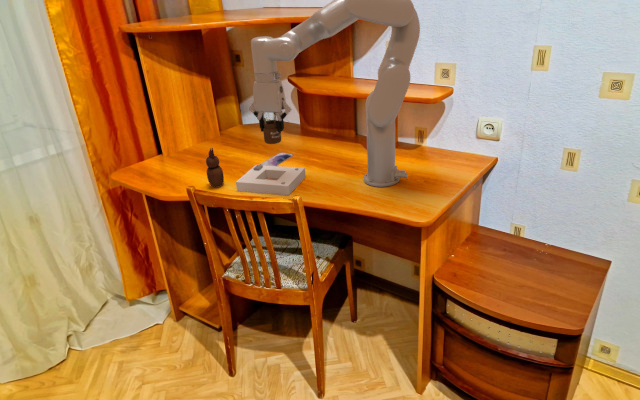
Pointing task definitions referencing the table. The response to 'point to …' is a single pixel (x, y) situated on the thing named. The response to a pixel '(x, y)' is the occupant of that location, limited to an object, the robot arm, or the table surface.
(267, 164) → the smartphone
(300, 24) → the robot arm
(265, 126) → the utensil holder
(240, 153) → the table surface
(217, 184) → the wooden figurine
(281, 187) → the socket block
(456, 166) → the table surface
